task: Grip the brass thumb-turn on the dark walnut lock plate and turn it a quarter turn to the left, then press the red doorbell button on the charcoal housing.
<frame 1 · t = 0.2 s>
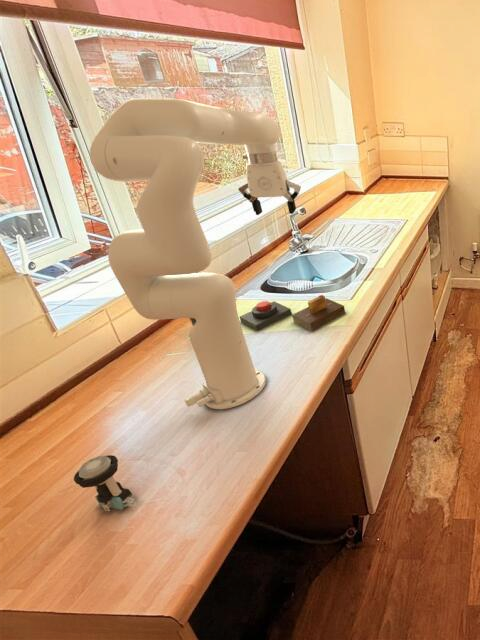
hand: (276, 213, 125), 31 cm above the worktop, tool pointing down, fingers open, 9 cm apart
lock turn: (317, 304, 125), point 5 cm above the worktop, hinge at 0.0°
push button: (120, 504, 72), on the worktop
lock plate: (320, 318, 127), on the worktop
doorbell: (267, 318, 126), on the worktop
beverage bottle: (207, 326, 122), on the worktop
bell button: (263, 306, 124), point 4 cm above the worktop, slide at 0.1 cm
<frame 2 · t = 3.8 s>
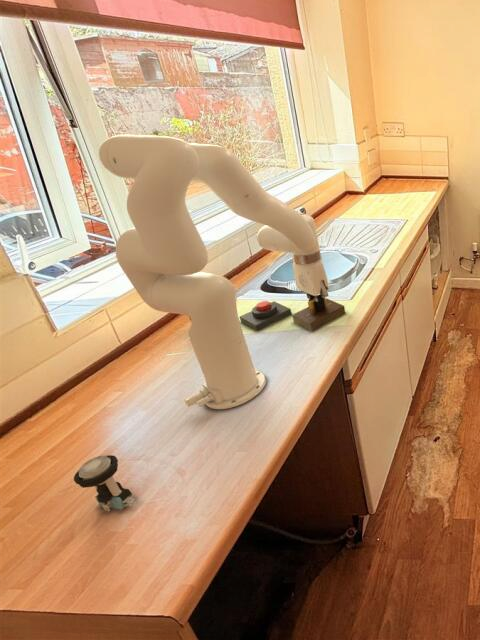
hand: (318, 309, 126), 3 cm above the worktop, tool pointing down, fingers closed
lock turn: (317, 304, 125), point 5 cm above the worktop, hinge at 0.0°, touching gripper
everything else where it was.
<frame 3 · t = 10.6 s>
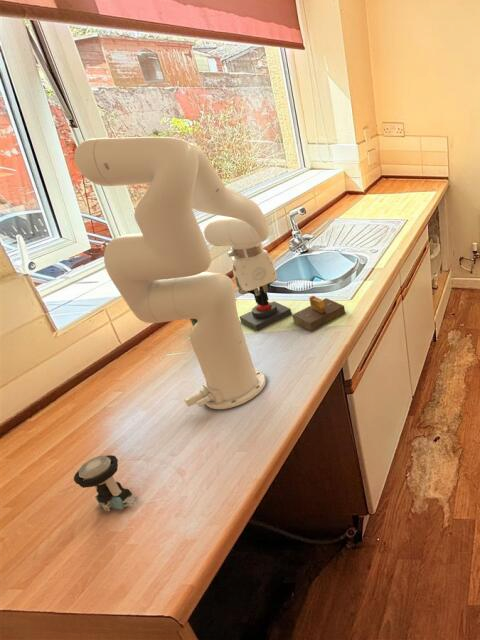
hand: (263, 303, 124), 5 cm above the worktop, tool pointing down, fingers closed
lock turn: (317, 304, 125), point 5 cm above the worktop, hinge at 89.9°
bell button: (263, 306, 125), point 4 cm above the worktop, slide at 0.0 cm, touching gripper
everything else where it was.
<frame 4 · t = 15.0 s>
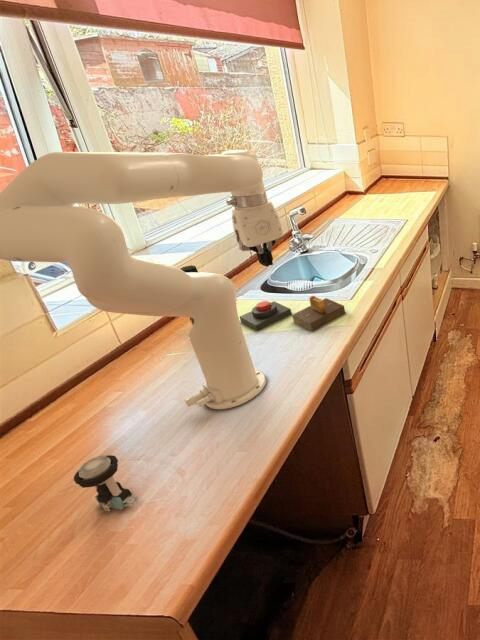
hand: (267, 264, 109), 23 cm above the worktop, tool pointing down, fingers closed
bell button: (263, 306, 124), point 4 cm above the worktop, slide at 0.1 cm
everything else where it was.
at the end: lock turn at +90° (first picture: +0°); bell button pushed in 1.1 cm at the most during the clip, back to where it started at the end; bell button slide at 0.1 cm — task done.
